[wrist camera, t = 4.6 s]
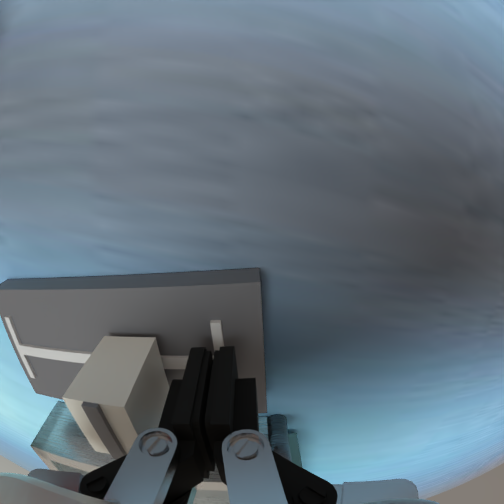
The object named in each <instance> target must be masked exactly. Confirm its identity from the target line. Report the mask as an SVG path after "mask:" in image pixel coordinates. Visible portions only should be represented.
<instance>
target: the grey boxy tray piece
mask: <svg viewBox="0 0 504 504" xmlns="http://www.w3.org/2000/svg"><path fill="white" fill-rule="evenodd" d="M258 419H259V432H260V433H262V434H263V435H265V436H266V437H267V439H268V441H269V443H270V447H271V450H272V451H274V452H276V453H277V454H279V455H281V456H282V457H284V458H286V459H287V460H289V461H291V462H292V459H291V452H290V444H289V437H288V430H287V423H286V418H285V417H284V416H282V415H272V416H269V417H268V418H267V416H266V417H258ZM31 447H32V448H33V450H34V451H35V452H36V453H37V455H38V456H39V457H40V458H41V459H42V461H43V462H44V463H45V464H46V465H47V466H48V468H49V469H50V470H56V471H65V472H78V473H81V474H82V475H86V474H88V473H89V472H91V471H93V470H95V469H98V468H100V467H102V466H104V465H106V464H108V463H110V462H112V461H114V460H116V459H113V457H112V456H111V454H107V453H102V452H97V451H95V450H94V449H93V447H92V446H91V444H90V443H89V441H88V440H87V438H86V437H85V435H84V434H83V432H82V430H81V429H80V427H79V426H78V424H77V422H76V421H75V419H74V417H73V416H72V414H71V412H70V410H69V409H68V407H67V405H66V403H63V402H59V401H58V402H57V403H56V405H55V407H54V408H53V410H52V411H51V413H50V414H49V416H48V418H47V419H46V421H45V422H44V424H43V426H42V427H41V429H40V431H39V432H38V434H37V435H36V437H35V439H34V441H33V442H32V444H31ZM193 504H230V501H229V495H228V489H227V485H225V484H224V483H223V482H222V481H221V478H220V475H219V472H218V469H217V466H216V463H215V471H210V474H209V479H206V478H204V480H203V482H201V483H200V484H198V485H197V492H196V495H195V498H194V501H193Z"/></svg>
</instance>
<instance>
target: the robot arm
mask: <svg viewBox="0 0 504 504" xmlns="http://www.w3.org/2000/svg"><path fill="white" fill-rule="evenodd" d="M215 463H216V466H217V469H218V472H219V475H220V478H221V481H222V482H223V483H224V484H225V485H227V489H228V495H229V501H230V504H439V503H437V502H434V501H430V500H424V499H419V498H418V490H417V487H416V485H415V484H414V483H413V482H412V481H409V480H407V479H392V480H380V481H365V482H344V483H343V484H330V483H329V482H328V481H326V480H324V479H322V478H320V477H318V476H316V475H314V474H312V473H310V472H309V471H307V470H305V469H303V468H301V467H299V466H298V465H296V464H294V463H292V462H291V461H289V460H287V459H286V458H284V457H282V456H281V455H279V454H277V453H276V452H274V451H272V450H271V447H270V443H269V441H268V439H267V437H266V436H265V435H263V434H262V433H260V432H259V419H258V401H257V387H256V378H238V370H237V362H236V354H235V347H234V346H222V347H220V349H219V350H215V352H214V358H212V352H211V351H207V350H206V347H192V348H191V349H190V353H189V357H188V360H187V364H186V368H185V371H184V375H183V379H173V380H172V382H171V385H170V388H169V392H168V395H167V398H166V402H165V405H164V408H163V412H162V415H161V419H160V422H159V426H158V428H151V429H148V430H145V431H143V432H142V433H140V434H139V435H138V437H137V438H136V439H135V441H134V443H133V445H132V447H131V449H130V450H129V452H128V454H126V455H124V456H122V457H120V458H118V459H116V460H114V461H112V462H110V463H108V464H106V465H104V466H102V467H100V468H98V469H95V470H93V471H91V472H89V473H88V474H86V475H82V474H81V473H78V472H65V471H56V470H47V469H35V470H33V471H31V472H30V473H29V474H28V476H25V475H21V474H14V473H0V504H193V501H194V498H195V495H196V492H197V485H198V484H200V483H201V482H203V480H204V478H206V479H209V474H210V471H215Z"/></svg>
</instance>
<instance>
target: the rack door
mask: <svg viewBox="0 0 504 504" xmlns="http://www.w3.org/2000/svg"><path fill="white" fill-rule="evenodd" d="M288 437H289V444H290V452H291V459H292V463H294V464H296V465H298V466H299V467H301V468H302V463H301V457H300V451H299V445H298V439H297V433H290V434H288Z"/></svg>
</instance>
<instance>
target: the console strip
mask: <svg viewBox="0 0 504 504" xmlns="http://www.w3.org/2000/svg"><path fill="white" fill-rule="evenodd" d="M0 315H1V318H2V321H3V323H4V326H5V329H6V331H7V334H8V336H9V339H10V341H11V343H12V346H13V348H14V350H15V352H16V355H17V357H18V359H19V361H20V363H21V365H22V367H23V369H24V371H25V373H26V375H27V377H28V379H29V381H30V383H31V385H32V387H33V389H34V391H35V392H36V393H38V394H42V395H46V396H50V397H54V398H59V399H63V398H62V397H63V395H64V394H65V392H66V391H67V389H68V388H69V386H70V385H71V383H72V382H73V380H74V379H75V377H76V376H77V374H78V373H79V371H80V370H81V368H82V367H83V365H84V364H85V362H86V361H87V360H88V358H89V357H90V355H91V354H92V352H93V351H94V350H95V348H96V347H97V345H98V344H99V343H100V341H101V340H102V338H103V337H104V336H118V337H156V341H157V345H158V348H159V352H160V356H161V360H162V363H163V367H164V371H165V374H166V377H167V381H168V384H169V388H170V385H171V382H172V380H173V379H183V375H184V371H185V368H186V364H187V360H188V357H189V353H190V349H191V348H192V347H206V350H207V351H211V352H212V358H214V352H215V350H219V349H220V347H222V346H234V347H235V354H236V362H237V370H238V378H256V387H257V401H258V413H267V400H266V379H265V359H264V339H263V320H262V301H261V283H260V273H259V268H248V269H231V270H214V271H197V272H178V273H158V274H138V275H115V276H91V277H65V278H34V279H7V280H6V281H4V282H2V283H1V284H0Z"/></svg>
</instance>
